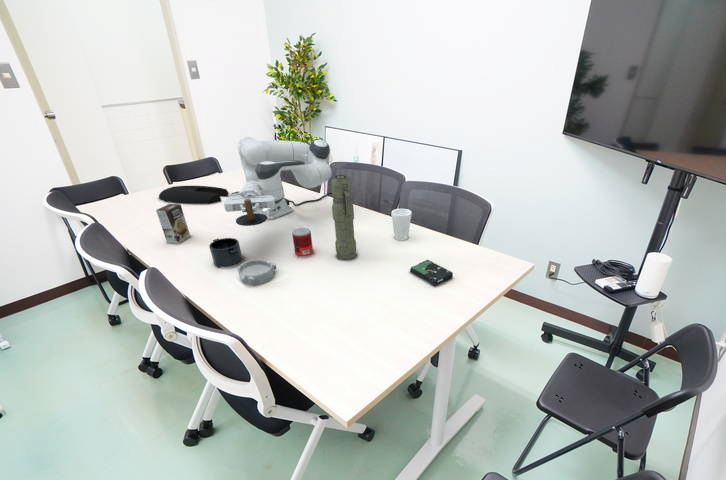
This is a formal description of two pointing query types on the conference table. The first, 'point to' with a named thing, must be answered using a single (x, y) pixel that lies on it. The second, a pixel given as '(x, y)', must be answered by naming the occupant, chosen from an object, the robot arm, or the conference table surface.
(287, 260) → the conference table surface
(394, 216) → the foam cup
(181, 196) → the black flat oval slab
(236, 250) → the pot
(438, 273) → the disk drive
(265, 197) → the robot arm
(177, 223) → the coffee box
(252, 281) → the dish
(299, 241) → the canned food
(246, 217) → the lid
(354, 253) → the thermos
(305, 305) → the conference table surface
